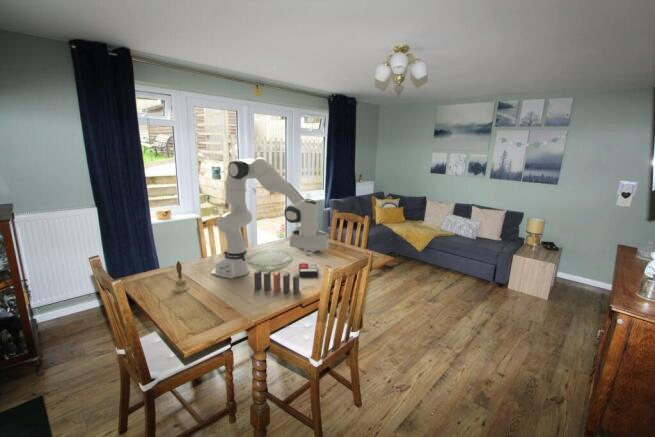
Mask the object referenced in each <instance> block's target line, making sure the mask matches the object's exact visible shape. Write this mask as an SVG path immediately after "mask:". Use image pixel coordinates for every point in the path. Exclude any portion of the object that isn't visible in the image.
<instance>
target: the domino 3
mask: <svg viewBox="0 0 655 437" xmlns="http://www.w3.org/2000/svg"><path fill="white" fill-rule="evenodd" d="M280 289H281V271H275V273H273V292H274V293H278V292H279V291H280Z"/></svg>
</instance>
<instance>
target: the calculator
mask: <svg viewBox="0 0 655 437" xmlns="http://www.w3.org/2000/svg"><path fill="white" fill-rule="evenodd" d="M298 271H299V272H298V273H299V278H317V277H318V267H317V264H316V262H315V263H313V262H309V263H306V262H305V263H299V264H298Z"/></svg>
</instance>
